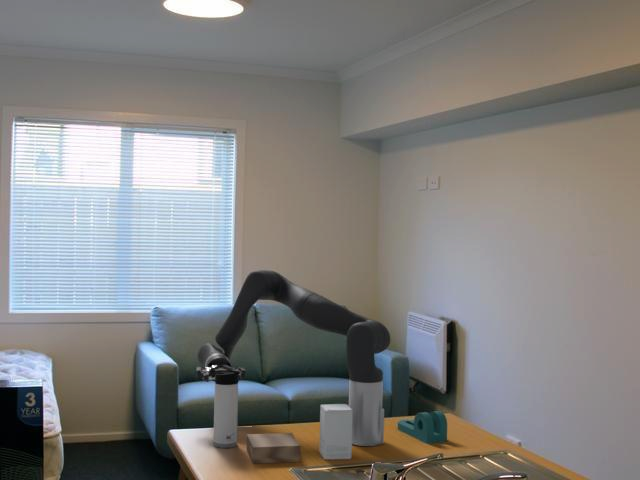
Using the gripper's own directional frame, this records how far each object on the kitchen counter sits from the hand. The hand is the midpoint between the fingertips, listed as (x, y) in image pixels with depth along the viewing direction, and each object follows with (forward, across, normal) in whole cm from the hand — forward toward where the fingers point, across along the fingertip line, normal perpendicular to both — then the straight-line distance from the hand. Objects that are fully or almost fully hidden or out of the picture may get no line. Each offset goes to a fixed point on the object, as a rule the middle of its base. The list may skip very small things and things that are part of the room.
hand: (222, 378), depth 213 cm
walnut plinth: (+22, +11, +15) cm, 29 cm away
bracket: (+8, +56, +16) cm, 59 cm away
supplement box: (+24, +27, +15) cm, 40 cm away
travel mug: (+12, 0, +16) cm, 20 cm away
